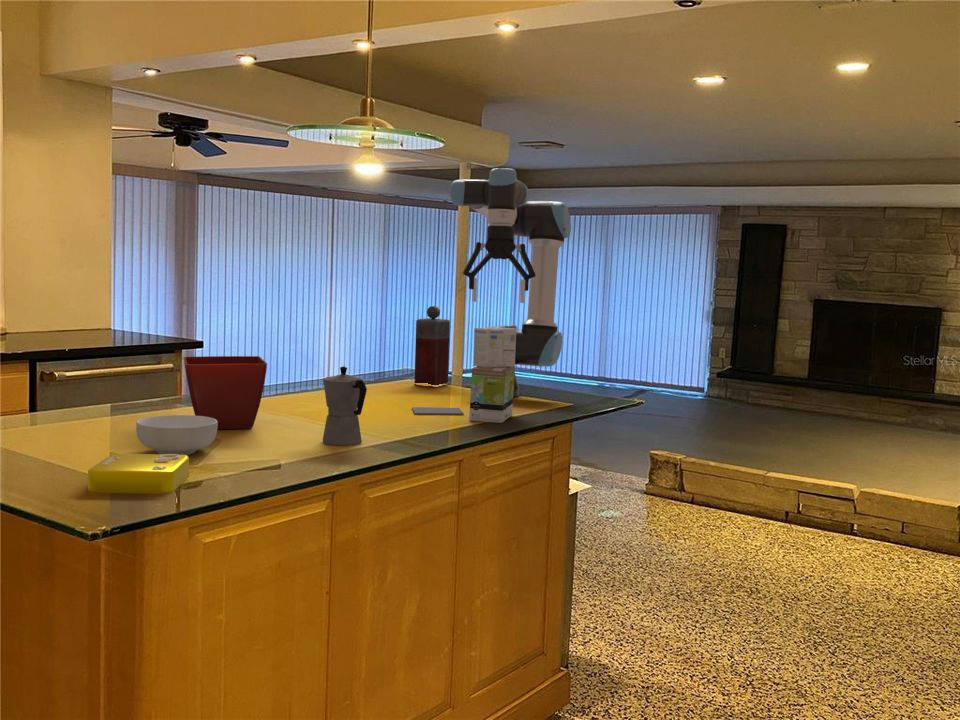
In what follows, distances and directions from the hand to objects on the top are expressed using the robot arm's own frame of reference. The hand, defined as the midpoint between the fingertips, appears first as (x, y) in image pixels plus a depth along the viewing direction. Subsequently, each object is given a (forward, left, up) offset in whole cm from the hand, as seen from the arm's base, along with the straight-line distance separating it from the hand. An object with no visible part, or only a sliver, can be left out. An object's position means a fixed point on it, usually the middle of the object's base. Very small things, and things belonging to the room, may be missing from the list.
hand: (498, 302), depth 246 cm
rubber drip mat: (-8, -15, -33) cm, 37 cm away
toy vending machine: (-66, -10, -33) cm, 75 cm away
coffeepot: (+37, -42, -33) cm, 65 cm away
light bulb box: (+1, -1, -18) cm, 18 cm away
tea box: (+1, -1, -33) cm, 33 cm away
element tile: (+74, -80, -33) cm, 114 cm away
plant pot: (+15, -72, -33) cm, 81 cm away
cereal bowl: (+47, -78, -33) cm, 97 cm away
